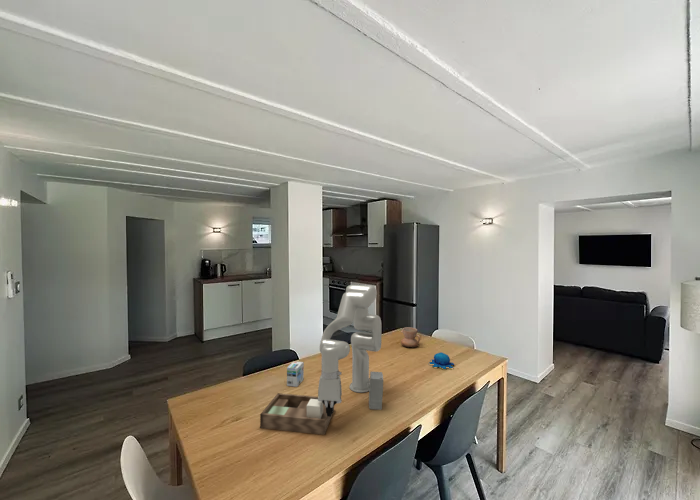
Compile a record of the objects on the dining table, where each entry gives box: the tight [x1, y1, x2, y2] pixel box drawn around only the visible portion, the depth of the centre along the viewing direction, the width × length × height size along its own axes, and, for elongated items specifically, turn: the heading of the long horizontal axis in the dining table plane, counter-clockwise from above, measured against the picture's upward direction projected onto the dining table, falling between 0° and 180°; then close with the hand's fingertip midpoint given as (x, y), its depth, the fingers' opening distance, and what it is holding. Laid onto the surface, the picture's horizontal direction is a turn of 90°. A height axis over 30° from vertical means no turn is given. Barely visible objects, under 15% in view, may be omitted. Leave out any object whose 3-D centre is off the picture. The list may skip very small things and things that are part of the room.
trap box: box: [259, 392, 335, 436], centre depth 136 cm, size 29×19×6 cm, turn 81°
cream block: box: [307, 399, 323, 419], centre depth 131 cm, size 6×6×6 cm
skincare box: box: [368, 371, 384, 411], centre depth 148 cm, size 8×7×16 cm
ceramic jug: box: [400, 326, 421, 348], centre depth 242 cm, size 18×14×14 cm
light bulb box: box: [286, 360, 305, 388], centre depth 173 cm, size 11×7×11 cm, turn 168°
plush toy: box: [428, 352, 455, 370], centre depth 202 cm, size 17×17×8 cm
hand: (329, 414), depth 130 cm, fingers closed
